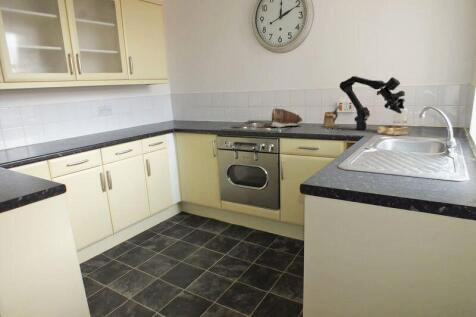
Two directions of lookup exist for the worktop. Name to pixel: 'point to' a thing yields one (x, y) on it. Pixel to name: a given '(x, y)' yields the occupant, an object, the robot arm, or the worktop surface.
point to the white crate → (401, 116)
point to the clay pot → (284, 118)
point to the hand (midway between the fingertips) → (403, 112)
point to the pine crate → (393, 130)
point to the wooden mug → (330, 118)
